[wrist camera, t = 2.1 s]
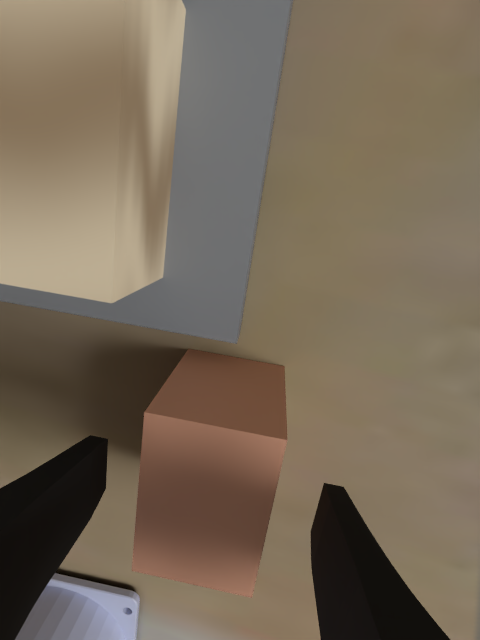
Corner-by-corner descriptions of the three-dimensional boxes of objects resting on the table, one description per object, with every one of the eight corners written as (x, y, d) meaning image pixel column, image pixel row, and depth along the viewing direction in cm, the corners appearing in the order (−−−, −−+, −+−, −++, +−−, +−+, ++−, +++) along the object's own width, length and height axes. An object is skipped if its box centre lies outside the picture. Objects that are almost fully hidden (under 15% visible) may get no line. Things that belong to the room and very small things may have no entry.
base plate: (239, 334, 14) (236, 343, 13) (-41, 284, 15) (-64, 289, 14) (299, -40, 10) (301, -66, 9) (-75, -82, 11) (-108, -111, 10)
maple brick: (163, 277, 12) (111, 303, 9) (6, 250, 13) (-111, 264, 9) (185, 9, 10) (130, -119, 6) (-7, -14, 10) (-172, -150, 7)
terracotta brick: (260, 483, 16) (251, 597, 11) (175, 466, 16) (131, 570, 11) (284, 365, 14) (287, 440, 9) (188, 347, 14) (144, 412, 10)
